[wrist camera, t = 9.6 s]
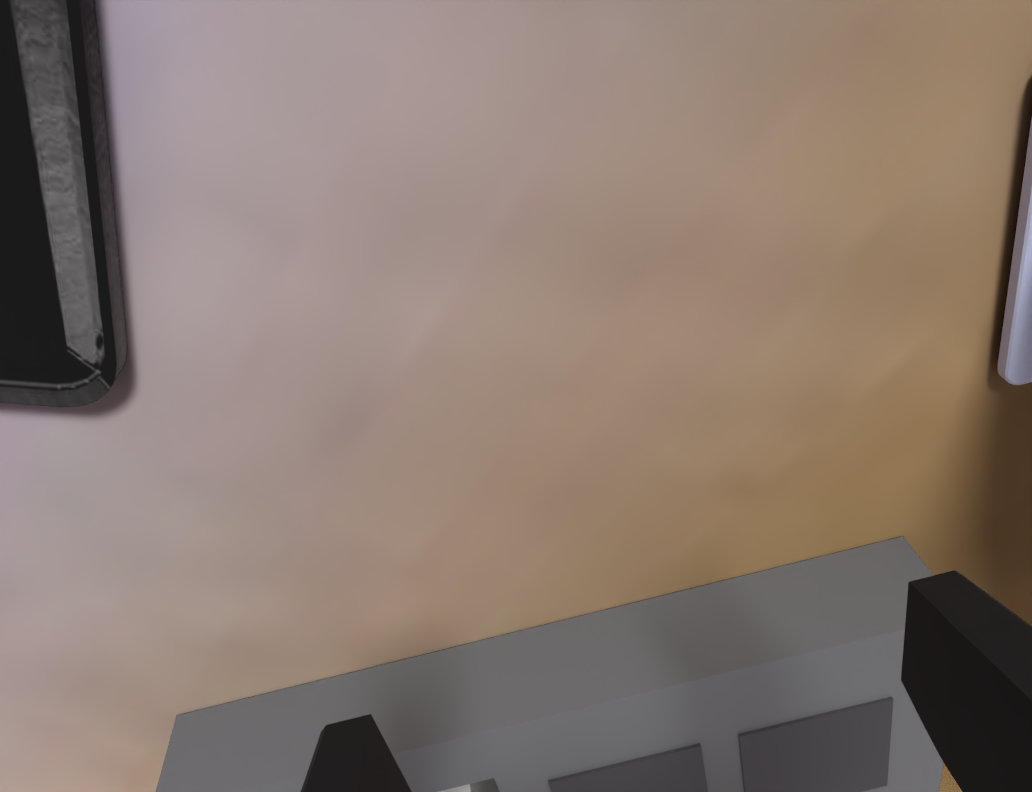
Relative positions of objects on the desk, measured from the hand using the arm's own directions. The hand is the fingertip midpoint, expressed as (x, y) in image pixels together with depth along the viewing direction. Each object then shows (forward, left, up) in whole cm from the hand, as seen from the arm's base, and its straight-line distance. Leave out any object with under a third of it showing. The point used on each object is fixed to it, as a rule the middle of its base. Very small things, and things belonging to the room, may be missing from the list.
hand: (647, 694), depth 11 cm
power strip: (+2, +14, -9) cm, 17 cm away
